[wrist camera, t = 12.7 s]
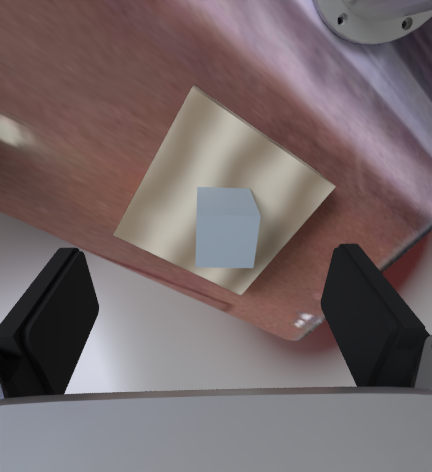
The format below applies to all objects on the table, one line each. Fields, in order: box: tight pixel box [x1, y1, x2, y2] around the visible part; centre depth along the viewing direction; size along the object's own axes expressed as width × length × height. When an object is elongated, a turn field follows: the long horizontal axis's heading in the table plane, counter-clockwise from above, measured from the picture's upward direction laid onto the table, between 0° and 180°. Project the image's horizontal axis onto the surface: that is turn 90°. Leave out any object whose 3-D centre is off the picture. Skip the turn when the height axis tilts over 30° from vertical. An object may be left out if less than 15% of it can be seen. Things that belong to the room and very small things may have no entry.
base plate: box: [114, 85, 335, 295], centre depth 31 cm, size 16×16×4 cm
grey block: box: [195, 187, 261, 268], centre depth 26 cm, size 5×5×6 cm
